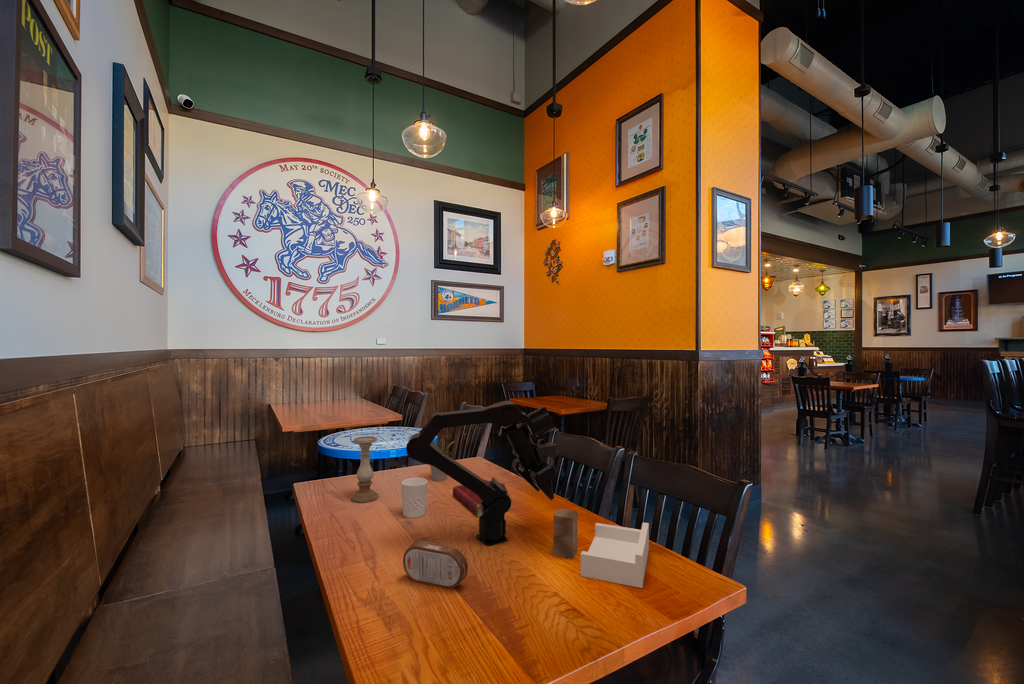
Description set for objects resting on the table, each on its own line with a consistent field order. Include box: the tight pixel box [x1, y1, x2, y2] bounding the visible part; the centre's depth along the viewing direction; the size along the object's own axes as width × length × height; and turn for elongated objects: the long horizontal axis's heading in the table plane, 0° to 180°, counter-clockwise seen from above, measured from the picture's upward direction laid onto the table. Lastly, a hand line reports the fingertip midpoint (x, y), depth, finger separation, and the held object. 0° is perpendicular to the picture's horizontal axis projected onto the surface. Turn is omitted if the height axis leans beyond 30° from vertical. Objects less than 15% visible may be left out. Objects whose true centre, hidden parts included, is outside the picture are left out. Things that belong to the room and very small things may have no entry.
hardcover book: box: [452, 484, 513, 519], centre depth 146 cm, size 12×21×4 cm, turn 28°
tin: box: [402, 540, 469, 589], centre depth 97 cm, size 15×3×8 cm, turn 71°
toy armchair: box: [580, 522, 650, 589], centre depth 107 cm, size 14×19×7 cm
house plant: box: [429, 439, 456, 482], centre depth 171 cm, size 14×14×16 cm
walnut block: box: [552, 508, 579, 560], centre depth 111 cm, size 5×5×10 cm
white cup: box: [400, 477, 428, 519], centre depth 136 cm, size 8×8×10 cm
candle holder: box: [350, 435, 379, 504], centre depth 149 cm, size 9×9×20 cm
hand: (545, 494), depth 121 cm, fingers open, 9 cm apart
